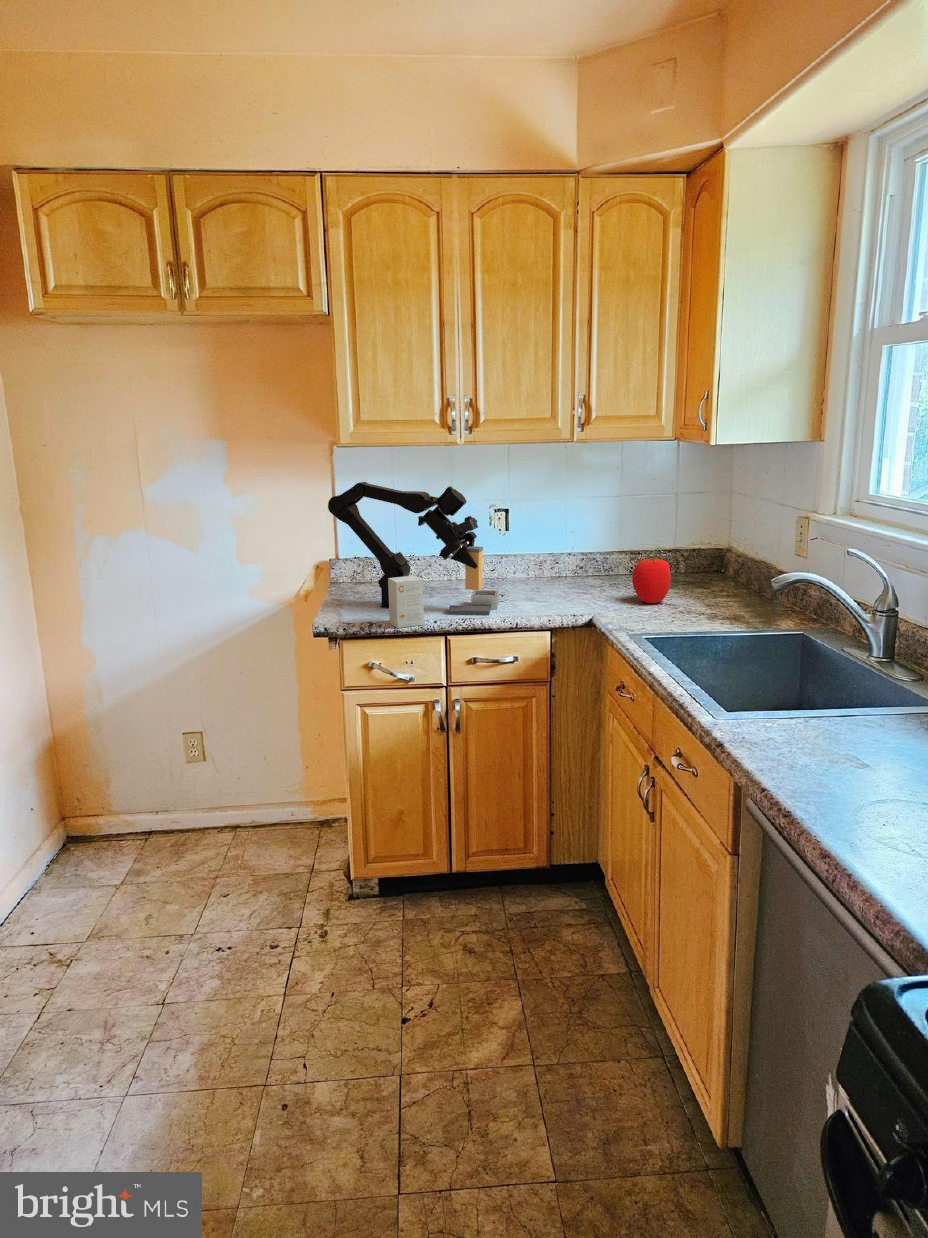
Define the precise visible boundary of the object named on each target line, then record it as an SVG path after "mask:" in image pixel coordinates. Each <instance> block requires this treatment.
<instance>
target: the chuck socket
mask: <svg viewBox="0 0 928 1238" xmlns="http://www.w3.org/2000/svg"><path fill="white" fill-rule="evenodd" d="M499 596H500V595H499V590H490V589H489V590H484V589H483V590H481V589H479V590H472V594H471V596H470V598H471V603H470V604H471V605H470V606H491V610H497V609H498V606H499V599H500V598H499Z"/></svg>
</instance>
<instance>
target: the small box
mask: <svg viewBox="0 0 928 1238" xmlns="http://www.w3.org/2000/svg"><path fill="white" fill-rule="evenodd" d="M388 590H389V607H388V608H389V611H388V613H389V624H390V625H391V626H393V627H395V628H397V629H403V628H409V627H417V626H424V625H425V610H424V609H425V608H424V605H425V604H424V580H423V578H421V577H419V576H417V575H409V576H405V577H395V578H388Z"/></svg>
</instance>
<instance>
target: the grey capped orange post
mask: <svg viewBox="0 0 928 1238" xmlns="http://www.w3.org/2000/svg"><path fill="white" fill-rule="evenodd" d="M467 551H468V553H469V554H470V556H471V557H472V558H473V560H474V561H475V563H476V564H477V566H478V567H477V568H476V569H474V568H472V567H469V566H467V565H465V564H464V565H465V578H464V579H465V582H464V583H465V588H464V589H465V590H470V591H474V590H481V589H482V588H483V572H484V571H483V565H484V564H483V562H484V561H483V557H484V556H483V555H484V553H483V552H484V546H475V545H474V546H469V547H467Z"/></svg>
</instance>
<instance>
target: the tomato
mask: <svg viewBox="0 0 928 1238" xmlns="http://www.w3.org/2000/svg"><path fill="white" fill-rule="evenodd" d="M671 574H672V573H671V569H670V565H669V563H668V562H667V561H666V560H664V559H662V558H659V557H657V556H654V555H653V557H651V558H645V559H642V560H640V561H638V562H637V563H636V565H635V566H634V569H633V572H632V577H631V578H632V580H631V581H632V587H633V589H634V591H635V594H636V595H637V597H638V598H639V599H640V600H641V601H642V602H644V603H646V604H658V603H661V602H662V601H664V599H665V598H666V596H667V595H668V592H669V591H670V586H671V578H672V577H671Z"/></svg>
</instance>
